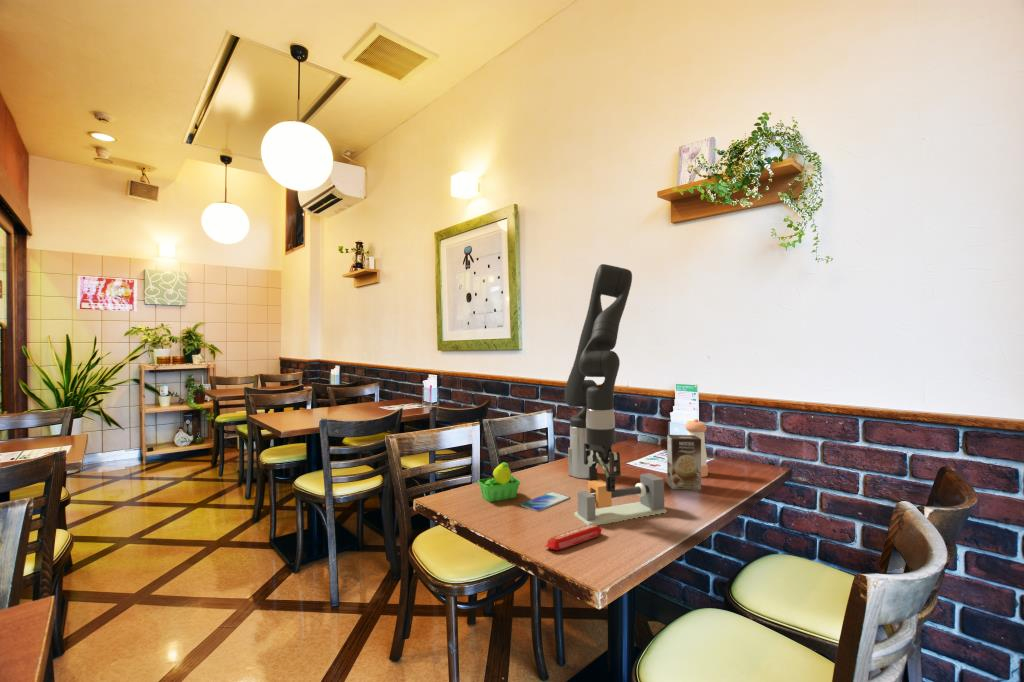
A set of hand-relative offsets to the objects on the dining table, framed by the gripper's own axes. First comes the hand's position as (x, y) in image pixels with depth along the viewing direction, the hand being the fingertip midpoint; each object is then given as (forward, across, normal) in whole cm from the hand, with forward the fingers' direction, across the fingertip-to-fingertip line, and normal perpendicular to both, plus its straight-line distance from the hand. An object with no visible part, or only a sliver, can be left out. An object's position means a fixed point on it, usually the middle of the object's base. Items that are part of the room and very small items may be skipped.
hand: (601, 486), depth 121 cm
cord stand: (+8, 0, -6) cm, 10 cm away
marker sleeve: (+5, +1, 0) cm, 5 cm away
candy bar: (+9, -10, +14) cm, 19 cm away
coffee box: (+8, +12, -38) cm, 41 cm away
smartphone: (+9, +17, +9) cm, 21 cm away
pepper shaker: (+8, +21, -52) cm, 56 cm away
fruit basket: (+8, +26, +20) cm, 33 cm away
